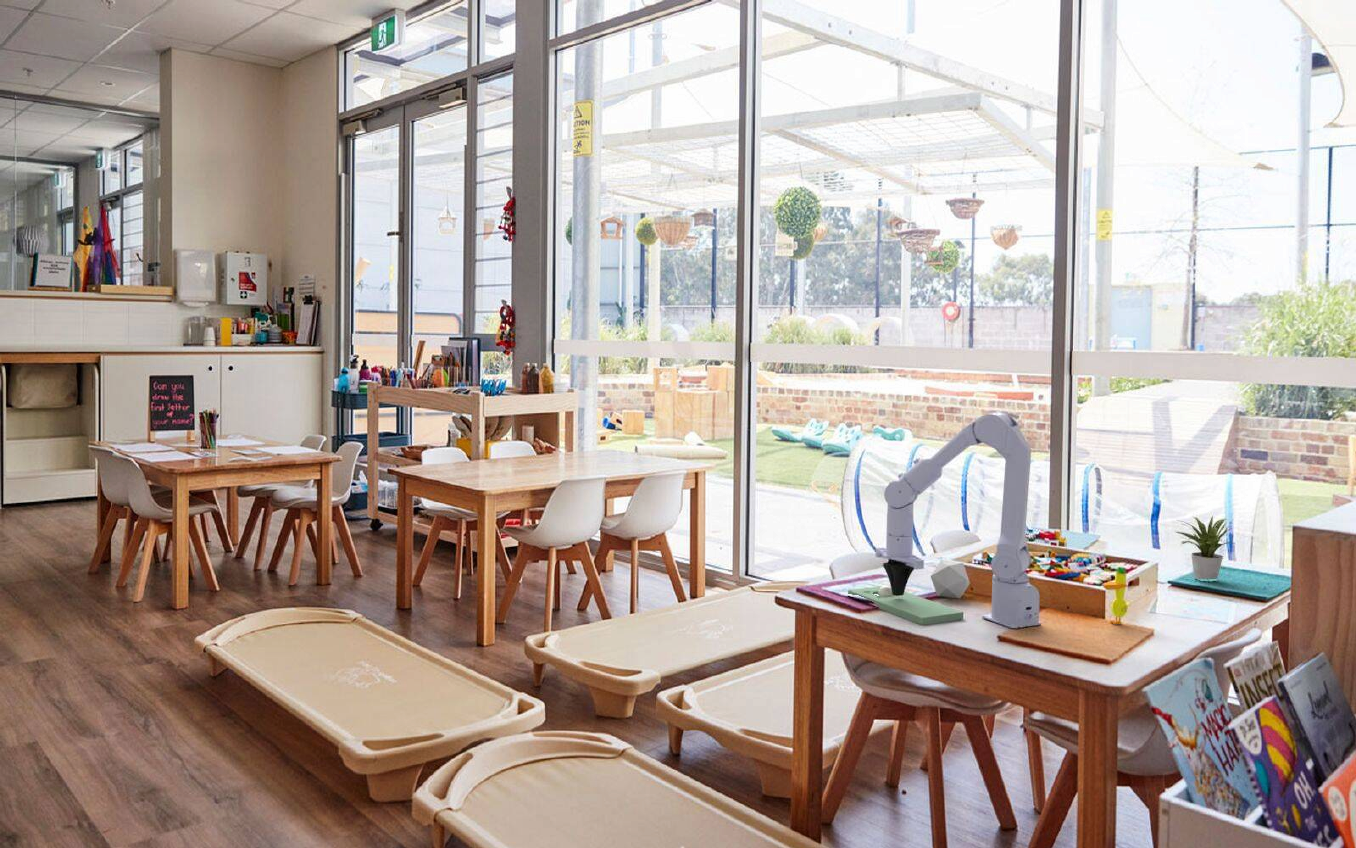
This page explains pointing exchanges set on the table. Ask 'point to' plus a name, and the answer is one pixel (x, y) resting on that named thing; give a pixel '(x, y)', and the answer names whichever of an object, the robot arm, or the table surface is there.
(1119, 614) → the toy figure
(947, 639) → the table surface
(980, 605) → the table surface
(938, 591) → the die
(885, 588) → the ball
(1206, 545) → the house plant
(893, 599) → the green
